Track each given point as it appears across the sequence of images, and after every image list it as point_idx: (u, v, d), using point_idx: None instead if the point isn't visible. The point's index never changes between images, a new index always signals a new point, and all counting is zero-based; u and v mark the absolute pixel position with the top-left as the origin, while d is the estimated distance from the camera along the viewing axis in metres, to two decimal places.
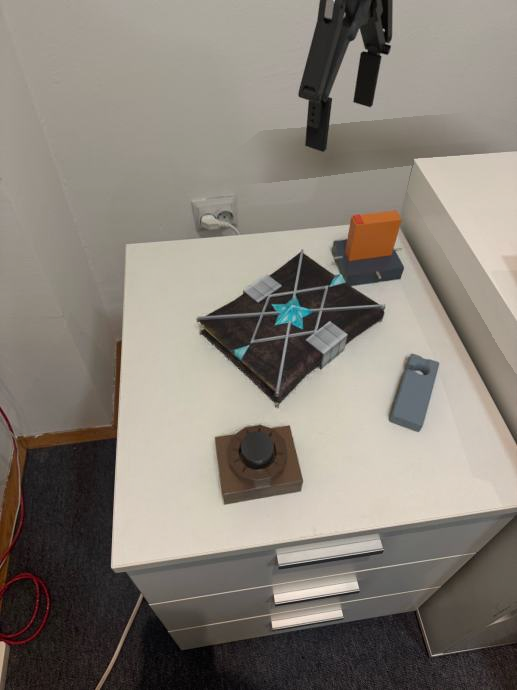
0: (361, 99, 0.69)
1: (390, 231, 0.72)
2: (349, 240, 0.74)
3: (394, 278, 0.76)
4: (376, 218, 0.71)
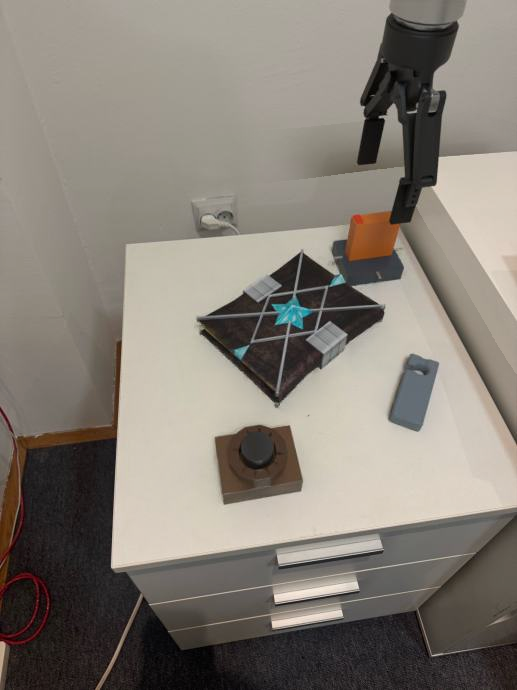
0: (367, 160, 0.71)
1: (390, 231, 0.72)
2: (349, 240, 0.74)
3: (394, 278, 0.76)
4: (376, 218, 0.71)
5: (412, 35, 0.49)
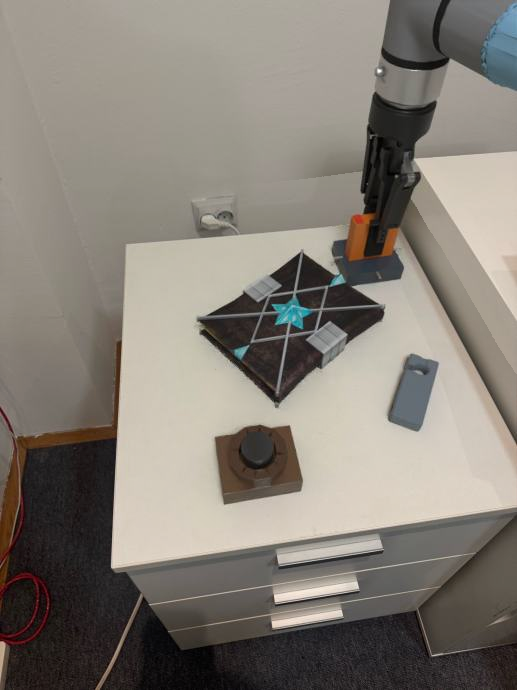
0: None
1: (390, 231, 0.72)
2: (349, 240, 0.74)
3: (394, 278, 0.76)
4: None
5: (395, 113, 0.55)
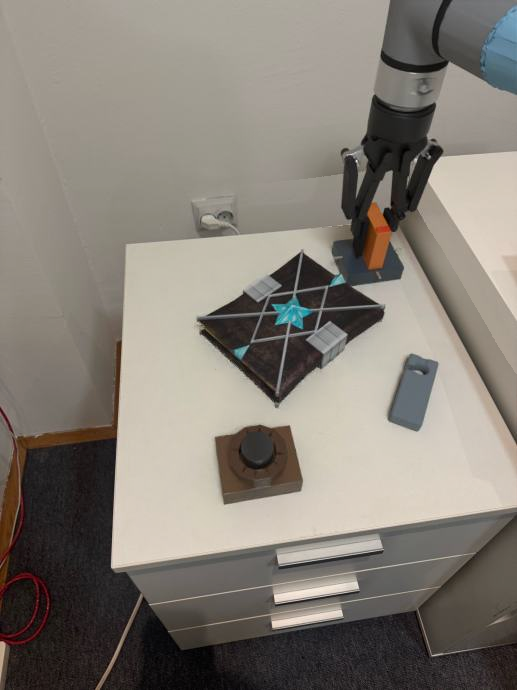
0: None
1: None
2: (378, 253, 0.72)
3: (394, 278, 0.76)
4: (377, 217, 0.71)
5: (433, 109, 0.57)
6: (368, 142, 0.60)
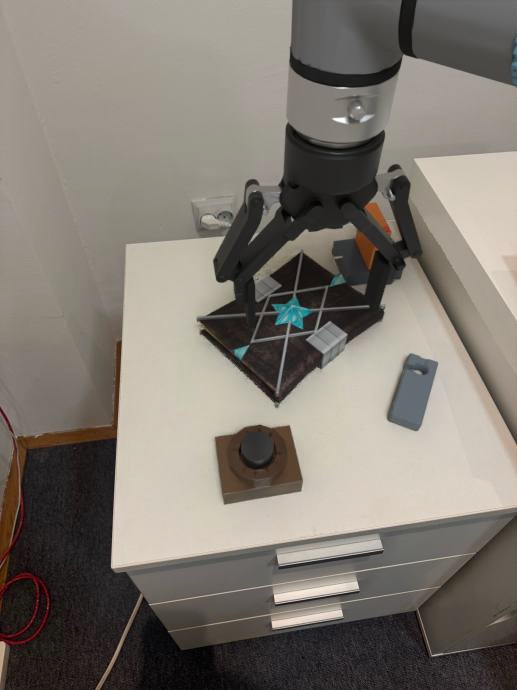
0: None
1: None
2: None
3: None
4: (377, 217, 0.71)
5: (380, 143, 0.36)
6: (292, 187, 0.39)
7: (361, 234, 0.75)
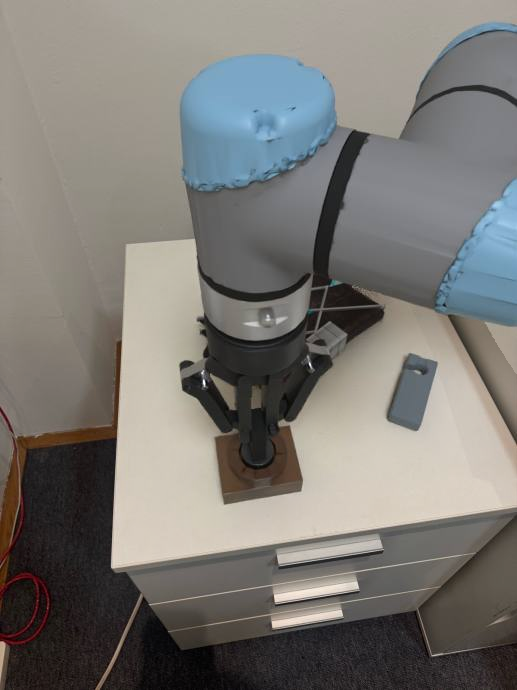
0: None
1: None
2: None
3: None
4: None
5: (302, 327, 0.34)
6: (207, 362, 0.37)
7: None
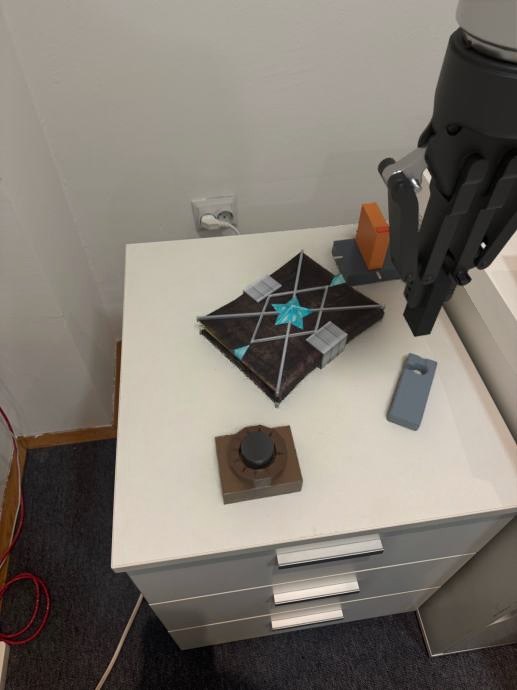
0: None
1: None
2: (378, 253, 0.72)
3: (394, 278, 0.76)
4: (377, 217, 0.71)
5: None
6: (435, 141, 0.29)
7: (361, 234, 0.75)
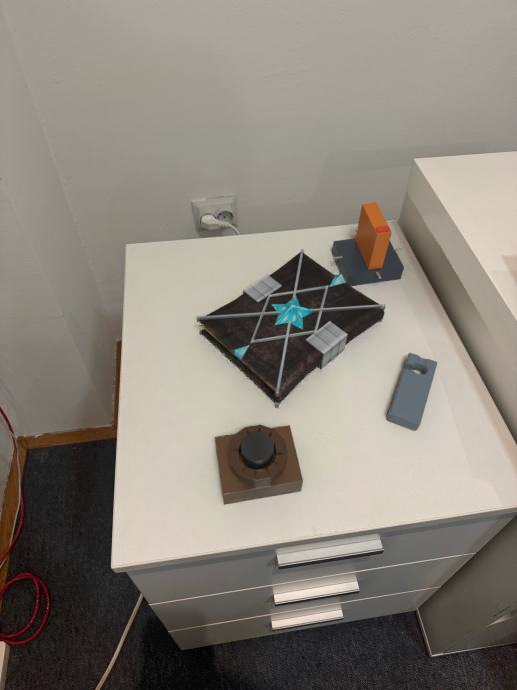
0: None
1: None
2: (378, 253, 0.72)
3: (394, 278, 0.76)
4: (377, 217, 0.71)
5: None
6: None
7: (361, 234, 0.75)
